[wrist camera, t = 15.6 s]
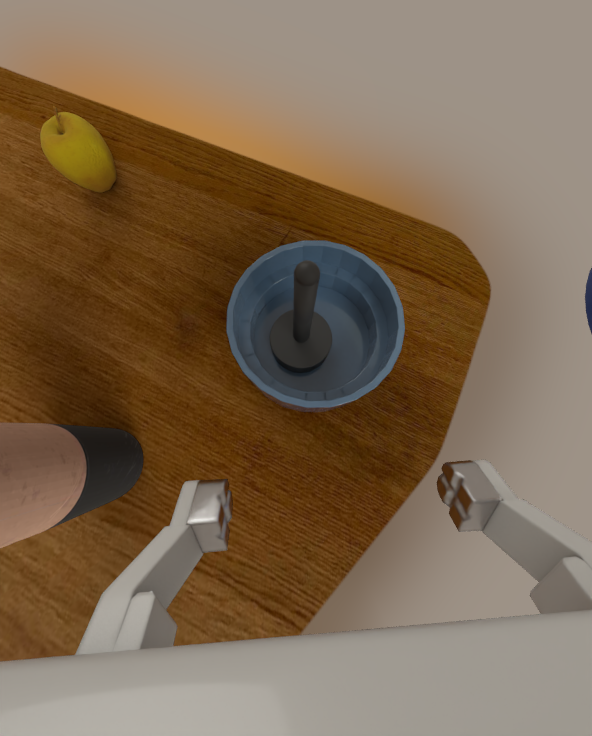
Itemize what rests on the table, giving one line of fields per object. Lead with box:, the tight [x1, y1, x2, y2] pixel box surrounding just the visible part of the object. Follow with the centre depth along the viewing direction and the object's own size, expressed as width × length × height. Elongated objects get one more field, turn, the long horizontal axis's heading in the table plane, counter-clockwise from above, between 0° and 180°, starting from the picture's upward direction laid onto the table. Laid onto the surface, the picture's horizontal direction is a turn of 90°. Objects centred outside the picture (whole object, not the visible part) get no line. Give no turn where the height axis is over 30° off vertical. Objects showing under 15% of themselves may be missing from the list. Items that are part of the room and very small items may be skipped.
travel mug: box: [0, 423, 143, 548], centre depth 19 cm, size 8×8×20 cm
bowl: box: [226, 241, 405, 412], centre depth 29 cm, size 16×16×6 cm
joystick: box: [270, 260, 332, 373], centre depth 24 cm, size 6×6×15 cm
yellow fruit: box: [40, 105, 117, 192], centre depth 32 cm, size 6×6×8 cm
